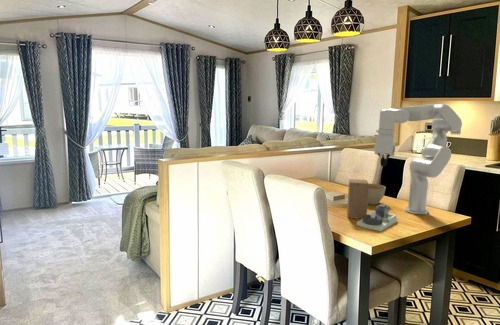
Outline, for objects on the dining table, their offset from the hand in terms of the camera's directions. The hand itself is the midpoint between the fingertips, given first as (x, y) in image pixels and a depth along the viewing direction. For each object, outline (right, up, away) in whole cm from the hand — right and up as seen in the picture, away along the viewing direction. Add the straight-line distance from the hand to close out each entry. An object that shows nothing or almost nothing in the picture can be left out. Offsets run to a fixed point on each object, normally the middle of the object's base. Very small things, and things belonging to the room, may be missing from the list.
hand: (383, 165), depth 212 cm
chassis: (-6, -31, -8) cm, 32 cm away
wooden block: (-13, -29, +6) cm, 32 cm away
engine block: (-3, -28, -4) cm, 29 cm away
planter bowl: (+4, -24, +34) cm, 42 cm away
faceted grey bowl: (-10, -29, -13) cm, 33 cm away
